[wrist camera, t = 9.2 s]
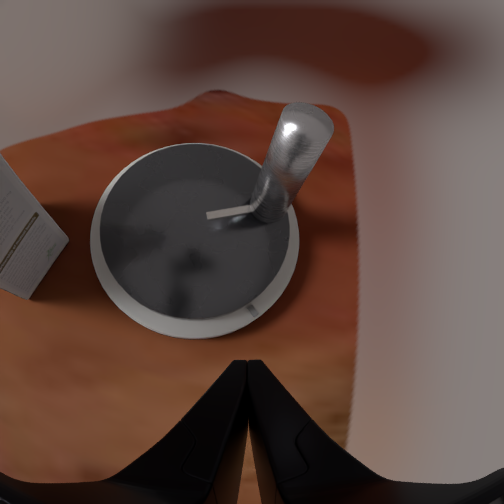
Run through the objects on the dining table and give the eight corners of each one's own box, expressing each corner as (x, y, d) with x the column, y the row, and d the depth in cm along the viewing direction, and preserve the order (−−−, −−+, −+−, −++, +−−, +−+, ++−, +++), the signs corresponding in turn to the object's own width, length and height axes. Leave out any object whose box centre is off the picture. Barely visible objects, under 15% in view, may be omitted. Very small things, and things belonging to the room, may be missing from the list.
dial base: (268, 364, 19) (274, 364, 17) (67, 298, 18) (58, 293, 16) (306, 185, 24) (313, 174, 23) (143, 138, 23) (141, 125, 21)
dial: (308, 294, 19) (388, 240, 11) (118, 338, 16) (51, 313, 8) (257, 143, 23) (287, 49, 14) (99, 169, 20) (67, 72, 11)
